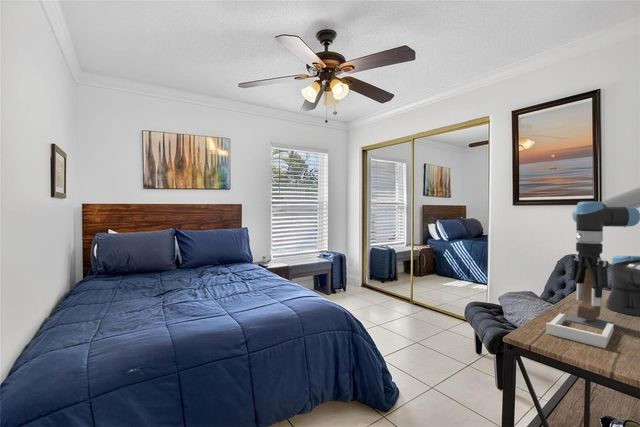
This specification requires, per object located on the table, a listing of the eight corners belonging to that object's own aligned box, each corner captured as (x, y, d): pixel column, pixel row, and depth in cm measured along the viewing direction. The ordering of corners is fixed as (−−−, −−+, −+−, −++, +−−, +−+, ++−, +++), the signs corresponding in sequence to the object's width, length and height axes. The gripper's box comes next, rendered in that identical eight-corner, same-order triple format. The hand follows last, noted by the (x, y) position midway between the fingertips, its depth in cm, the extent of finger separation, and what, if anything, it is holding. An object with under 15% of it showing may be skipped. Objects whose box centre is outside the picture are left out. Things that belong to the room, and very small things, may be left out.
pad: (571, 313, 124) (571, 312, 124) (611, 322, 115) (611, 321, 115) (564, 320, 117) (564, 319, 117) (607, 329, 108) (607, 328, 108)
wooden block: (592, 321, 112) (597, 273, 110) (576, 316, 115) (581, 270, 114) (599, 316, 117) (604, 270, 115) (584, 312, 120) (589, 267, 119)
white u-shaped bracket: (559, 319, 118) (559, 310, 118) (613, 331, 107) (613, 321, 106) (546, 333, 105) (546, 323, 105) (605, 348, 94) (605, 337, 94)
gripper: (559, 239, 125) (559, 295, 126) (601, 245, 106) (600, 311, 107) (578, 239, 125) (577, 295, 125) (623, 245, 106) (622, 311, 106)
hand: (588, 302), depth 116 cm, fingers closed on wooden block, 6 cm apart
